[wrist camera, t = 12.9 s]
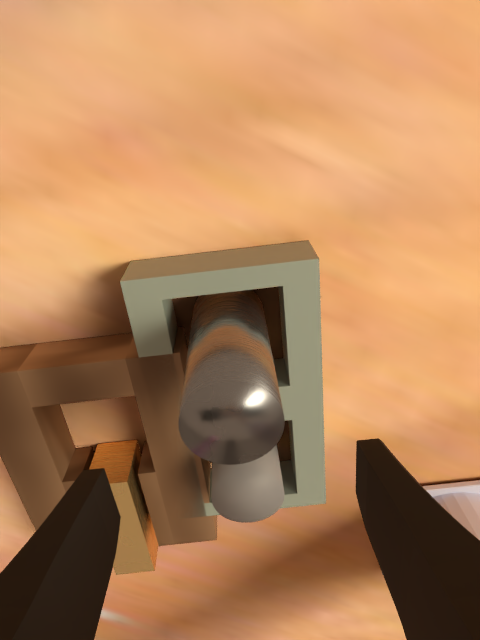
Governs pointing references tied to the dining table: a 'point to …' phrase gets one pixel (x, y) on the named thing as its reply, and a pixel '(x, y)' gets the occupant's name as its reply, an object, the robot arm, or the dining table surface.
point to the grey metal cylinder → (230, 381)
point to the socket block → (68, 462)
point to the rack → (291, 371)
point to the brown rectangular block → (128, 506)
